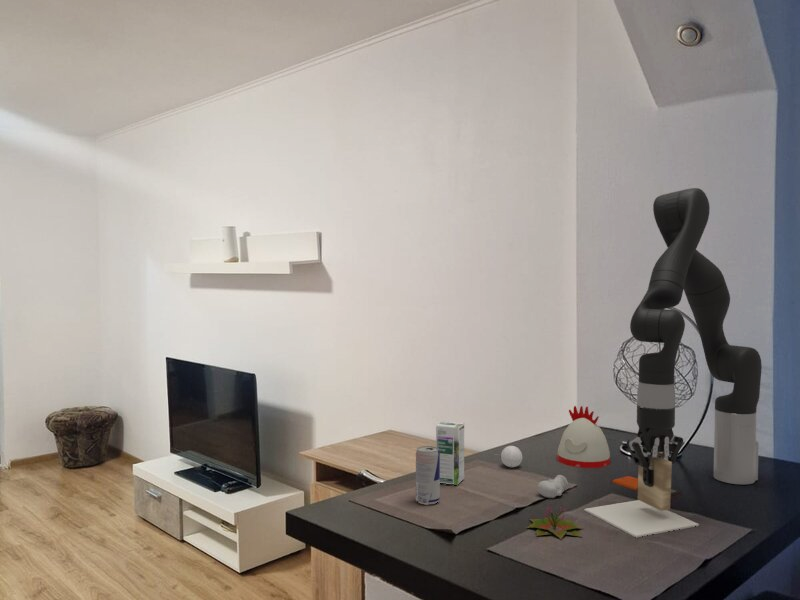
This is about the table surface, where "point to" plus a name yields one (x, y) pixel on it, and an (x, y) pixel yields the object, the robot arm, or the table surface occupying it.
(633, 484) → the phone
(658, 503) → the slab
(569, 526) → the lily flower
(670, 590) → the table surface
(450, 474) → the syrup box
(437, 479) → the energy drink
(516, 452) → the seamed sphere
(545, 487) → the smooth white sculpture
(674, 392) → the robot arm
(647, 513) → the mat
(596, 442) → the kitchen timer
